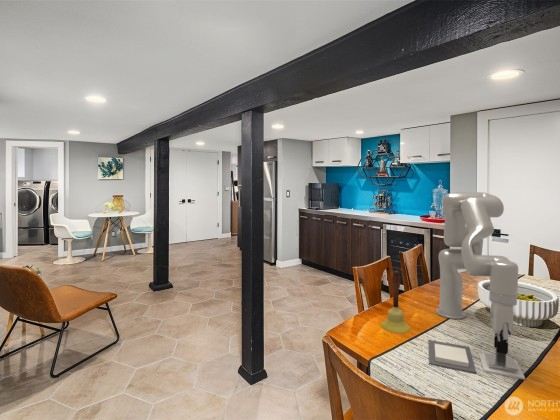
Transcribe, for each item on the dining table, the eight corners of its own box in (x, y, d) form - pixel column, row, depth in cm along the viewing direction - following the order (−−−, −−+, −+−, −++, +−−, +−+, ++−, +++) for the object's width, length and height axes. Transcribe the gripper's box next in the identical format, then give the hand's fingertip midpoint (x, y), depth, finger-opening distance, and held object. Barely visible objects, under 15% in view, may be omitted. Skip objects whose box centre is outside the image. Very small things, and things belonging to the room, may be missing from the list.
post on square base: (484, 354, 112) (485, 327, 111) (511, 359, 108) (512, 331, 108) (488, 366, 104) (489, 337, 104) (518, 371, 101) (519, 342, 100)
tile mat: (428, 340, 125) (428, 339, 125) (469, 348, 119) (469, 346, 119) (429, 364, 108) (429, 362, 108) (476, 373, 102) (476, 372, 102)
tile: (434, 343, 118) (435, 356, 109) (465, 348, 114) (468, 363, 105) (434, 347, 118) (435, 361, 109) (465, 353, 114) (468, 367, 105)
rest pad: (478, 355, 114) (478, 353, 114) (515, 361, 109) (515, 360, 109) (484, 371, 104) (484, 369, 104) (525, 379, 99) (525, 377, 99)
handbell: (381, 331, 133) (381, 274, 131) (380, 319, 145) (380, 266, 143) (412, 335, 130) (413, 276, 128) (408, 322, 142) (409, 268, 140)
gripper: (485, 289, 114) (483, 337, 115) (494, 304, 99) (492, 360, 100) (510, 291, 110) (508, 341, 112) (523, 307, 96) (521, 365, 97)
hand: (500, 350), depth 106 cm, fingers closed on post on square base, 2 cm apart
